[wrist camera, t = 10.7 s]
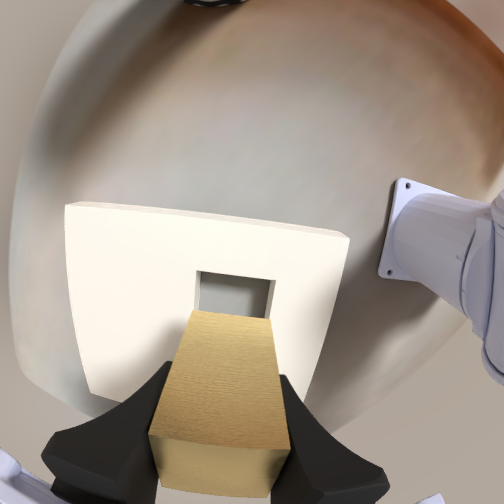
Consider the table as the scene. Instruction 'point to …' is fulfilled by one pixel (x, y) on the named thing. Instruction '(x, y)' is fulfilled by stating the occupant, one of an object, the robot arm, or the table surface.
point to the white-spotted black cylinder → (212, 2)
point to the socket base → (189, 286)
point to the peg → (222, 410)
